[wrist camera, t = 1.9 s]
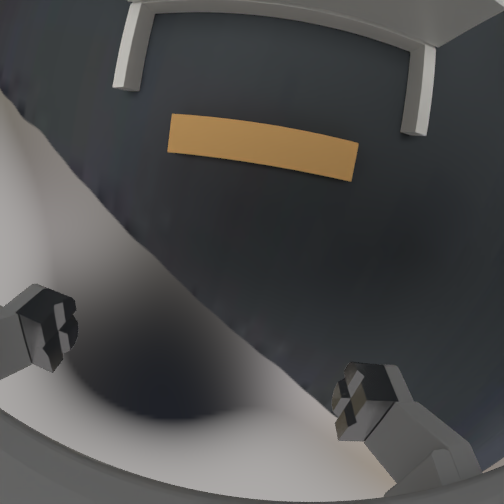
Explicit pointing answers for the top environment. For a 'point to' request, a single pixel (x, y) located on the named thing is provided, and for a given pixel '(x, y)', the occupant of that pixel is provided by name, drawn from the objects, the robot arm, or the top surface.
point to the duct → (261, 4)
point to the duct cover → (415, 15)
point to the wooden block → (263, 145)
